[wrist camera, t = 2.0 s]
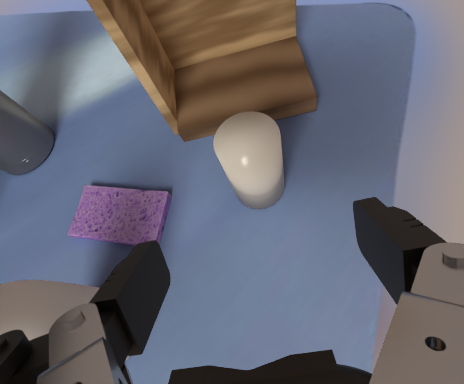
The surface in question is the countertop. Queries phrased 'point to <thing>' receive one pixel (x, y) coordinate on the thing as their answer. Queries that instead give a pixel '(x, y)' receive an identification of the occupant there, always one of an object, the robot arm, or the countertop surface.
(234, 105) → the wooden c-shaped stand
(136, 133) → the countertop surface
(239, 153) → the candle
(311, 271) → the countertop surface
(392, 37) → the countertop surface
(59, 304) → the milk bottle
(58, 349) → the robot arm
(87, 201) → the sponges
